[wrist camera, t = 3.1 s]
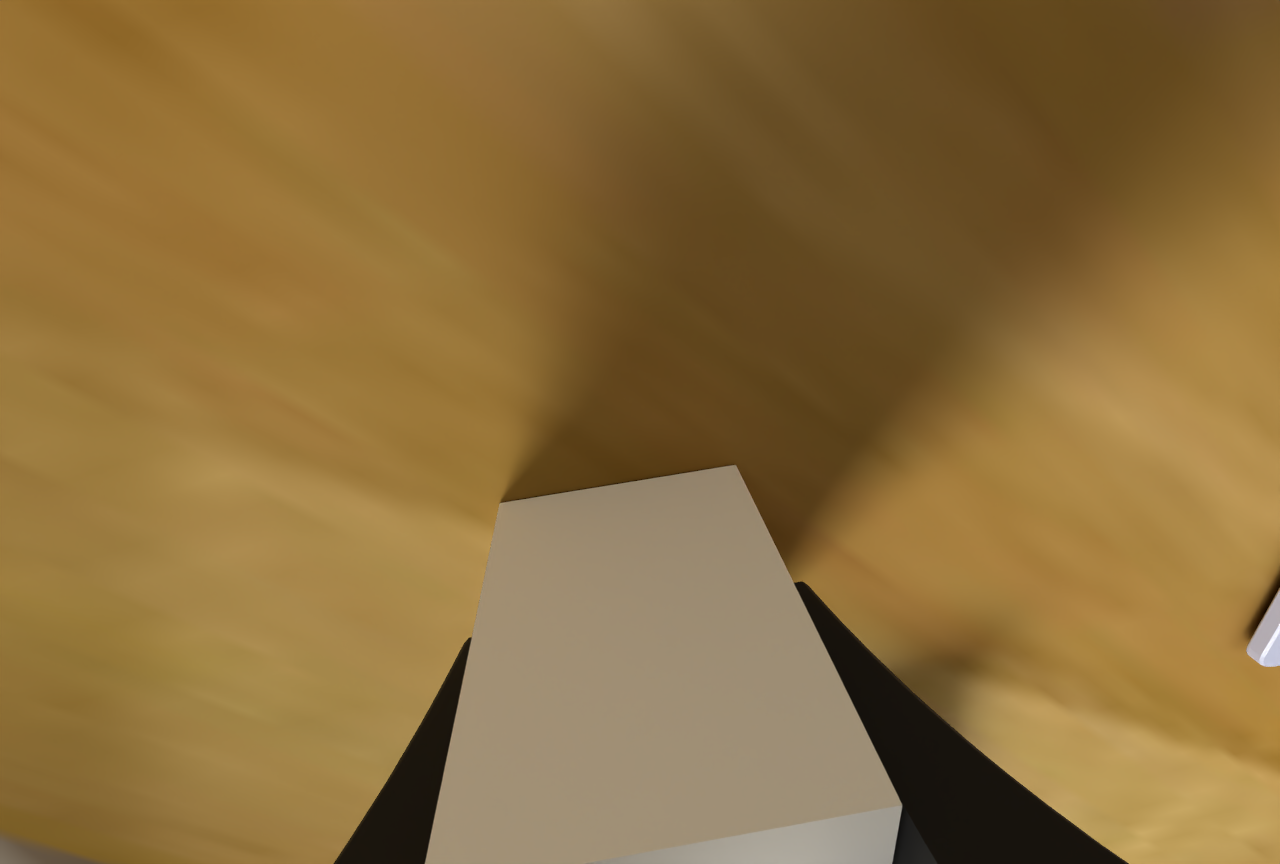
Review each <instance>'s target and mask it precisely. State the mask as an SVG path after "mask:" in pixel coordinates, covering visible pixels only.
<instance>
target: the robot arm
mask: <svg viewBox="0 0 1280 864" xmlns="http://www.w3.org/2000/svg"><path fill="white" fill-rule="evenodd" d="M794 585H795V587H796V589H797V591H798V593H799V595H800V597H801V599H802V601H803V603H804V605H805V607H806V609H807V611H808V613H809V615H810V617H811V619H812V621H813V623H814V625H815V627H816V630H817V632H818V634H819V636H820V638H821V640H822V642H823V644H824V646H825V648H826V650H827V652H828V654H829V656H830V658H831V660H832V662H833V664H834V666H835V668H836V670H837V672H838V674H839V677H840V679H841V681H842V683H843V685H844V687H845V689H846V691H847V693H848V695H849V697H850V699H851V701H852V703H853V705H854V707H855V709H856V711H857V713H858V715H859V717H860V719H861V721H862V723H863V726H864V728H865V730H866V732H867V734H868V736H869V738H870V740H871V742H872V744H873V746H874V748H875V750H876V752H877V754H878V756H879V758H880V760H881V762H882V764H883V766H884V768H885V770H886V773H887V775H888V777H889V779H890V781H891V783H892V785H893V787H894V789H895V791H896V793H897V795H898V797H899V799H900V801H901V803H902V811H901V816H900V822H899V828H898V833H897V839H896V845H895V850H894V856H893V862H892V864H1128V863H1127V862H1126V861H1124V860H1123V859H1121V858H1120V857H1118V856H1117V855H1115V854H1114V853H1112V852H1111V851H1110V850H1108V849H1107V848H1105V847H1104V846H1102V845H1101V844H1100V843H1098V842H1097V841H1095V840H1094V839H1093V838H1091V837H1090V836H1089V835H1087V834H1086V833H1085V832H1083V831H1082V830H1081V829H1079V828H1078V827H1077V826H1075V825H1074V824H1073V823H1071V822H1070V821H1069V820H1067V819H1066V818H1065V817H1063V816H1062V815H1061V814H1059V813H1058V812H1056V811H1055V810H1054V809H1052V808H1051V807H1050V806H1048V805H1047V804H1046V803H1044V802H1043V801H1042V800H1041V799H1039V798H1038V797H1037V796H1036V795H1034V794H1033V793H1032V792H1030V791H1029V790H1028V789H1027V788H1025V787H1024V786H1023V785H1021V784H1020V783H1019V782H1018V781H1016V780H1015V779H1014V778H1012V777H1011V776H1010V775H1009V774H1007V773H1006V772H1005V771H1004V770H1002V769H1001V768H1000V767H999V766H998V765H996V764H995V763H994V762H993V761H991V760H990V759H989V758H988V757H986V756H985V755H984V754H983V753H982V752H981V751H979V750H978V749H977V748H976V747H975V746H973V745H972V744H971V743H970V742H969V741H967V740H966V739H965V738H964V737H963V736H962V735H960V734H959V733H958V732H957V731H956V730H955V729H954V728H952V727H951V726H950V725H949V724H948V723H947V722H946V721H944V720H943V719H942V718H941V717H940V716H939V715H938V714H936V713H935V712H934V711H933V710H932V709H931V708H930V707H929V706H927V705H926V704H925V703H924V702H923V701H922V700H921V699H920V698H919V697H918V696H917V695H915V694H914V693H913V692H912V691H911V690H910V689H909V688H908V687H907V686H906V685H905V684H904V683H903V682H902V681H901V680H900V679H898V678H897V677H896V676H895V675H894V674H893V673H892V672H891V671H890V670H889V669H888V668H887V667H886V666H885V665H884V664H883V663H882V662H881V661H880V660H879V659H878V658H877V657H876V656H875V655H874V654H873V653H871V652H870V651H869V650H868V649H867V648H866V647H865V646H864V645H863V644H862V642H861V641H860V640H859V639H858V638H857V637H856V636H855V635H854V634H853V633H852V632H851V631H850V630H849V629H848V628H847V627H846V626H845V625H844V624H843V623H842V622H841V621H840V620H839V619H838V618H837V617H836V615H835V614H834V613H833V612H832V611H831V610H830V609H829V608H828V607H827V606H826V605H825V604H824V602H823V601H822V600H821V599H820V598H819V597H818V596H817V595H816V594H815V593H814V591H813V590H812V589H811V588H810V587H809V586H808V585H807V584H805V583H804V582H796V583H794ZM471 639H472V638H468V640H467V641H466V642H465V643H464V645H463V647H462V648H461V650H460V652H459V654H458V656H457V658H456V660H455V662H454V664H453V666H452V668H451V669H450V671H449V673H448V675H447V677H446V679H445V681H444V683H443V684H442V686H441V688H440V690H439V692H438V694H437V696H436V697H435V699H434V701H433V703H432V705H431V706H430V708H429V710H428V712H427V714H426V715H425V717H424V719H423V721H422V723H421V724H420V726H419V728H418V729H417V731H416V733H415V735H414V736H413V738H412V740H411V741H410V743H409V745H408V746H407V748H406V750H405V752H404V753H403V755H402V757H401V758H400V760H399V762H398V764H397V765H396V767H395V769H394V770H393V772H392V774H391V775H390V777H389V779H388V780H387V782H386V784H385V785H384V787H383V788H382V790H381V791H380V793H379V795H378V796H377V798H376V799H375V801H374V802H373V804H372V805H371V807H370V809H369V810H368V812H367V813H366V815H365V816H364V818H363V820H362V821H361V823H360V824H359V826H358V827H357V829H356V830H355V832H354V834H353V835H352V837H351V838H350V840H349V841H348V843H347V844H346V846H345V847H344V849H343V850H342V852H341V853H340V855H339V856H338V858H337V859H336V861H335V862H334V864H425V861H426V856H427V851H428V846H429V842H430V837H431V832H432V827H433V822H434V817H435V813H436V808H437V803H438V798H439V793H440V789H441V784H442V779H443V774H444V769H445V764H446V760H447V755H448V750H449V745H450V740H451V735H452V731H453V726H454V721H455V716H456V711H457V707H458V702H459V697H460V692H461V687H462V682H463V678H464V673H465V668H466V663H467V658H468V653H469V649H470V644H471ZM1246 651H1247V654H1248V655H1249V656H1250V657H1252V658H1253V659H1254V660H1255V661H1257V662H1258V663H1259V664H1261V665H1263V666H1267V667H1272V666H1280V588H1279V590H1278V592H1277V593H1276V595H1275V597H1274V599H1273V601H1272V602H1271V604H1270V606H1269V608H1268V609H1267V611H1266V613H1265V615H1264V617H1263V618H1262V620H1261V622H1260V624H1259V625H1258V627H1257V629H1256V631H1255V632H1254V634H1253V636H1252V638H1251V640H1250V641H1249V643H1248V645H1247V649H1246Z"/></svg>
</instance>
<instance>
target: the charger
mask: <svg viewBox="0 0 1280 864" xmlns="http://www.w3.org/2000/svg"><path fill="white" fill-rule="evenodd" d="M901 811H902V803H901V801H900V799H899V797H898V795H897V793H896V791H895V789H894V787H893V785H892V783H891V781H890V779H889V777H888V775H887V773H886V770H885V768H884V766H883V764H882V762H881V760H880V758H879V756H878V754H877V752H876V750H875V748H874V746H873V744H872V742H871V740H870V738H869V736H868V734H867V732H866V730H865V728H864V726H863V723H862V721H861V719H860V717H859V715H858V713H857V711H856V709H855V707H854V705H853V703H852V701H851V699H850V697H849V695H848V693H847V691H846V689H845V687H844V685H843V683H842V681H841V679H840V677H839V674H838V672H837V670H836V668H835V666H834V664H833V662H832V660H831V658H830V656H829V654H828V652H827V650H826V648H825V646H824V644H823V642H822V640H821V638H820V636H819V634H818V632H817V630H816V627H815V625H814V623H813V621H812V619H811V617H810V615H809V613H808V611H807V609H806V607H805V605H804V603H803V601H802V599H801V597H800V595H799V593H798V591H797V589H796V587H795V585H794V583H793V581H792V578H791V576H790V574H789V572H788V570H787V568H786V566H785V564H784V562H783V560H782V558H781V556H780V554H779V552H778V550H777V548H776V546H775V544H774V542H773V540H772V538H771V536H770V534H769V531H768V529H767V527H766V525H765V523H764V521H763V519H762V517H761V515H760V513H759V511H758V509H757V507H756V505H755V503H754V501H753V499H752V497H751V495H750V493H749V491H748V489H747V487H746V485H745V482H744V480H743V478H742V476H741V474H740V472H739V470H738V468H737V466H736V465H732V466H725V467H719V468H713V469H707V470H701V471H695V472H688V473H682V474H676V475H670V476H664V477H658V478H652V479H645V480H639V481H633V482H627V483H621V484H615V485H608V486H602V487H596V488H590V489H584V490H578V491H571V492H565V493H559V494H553V495H547V496H541V497H535V498H528V499H522V500H516V501H510V502H504V503H500V504H499V509H498V514H497V518H496V523H495V528H494V533H493V538H492V543H491V547H490V552H489V557H488V562H487V567H486V572H485V576H484V581H483V586H482V591H481V596H480V600H479V605H478V610H477V615H476V620H475V625H474V629H473V634H472V639H471V644H470V649H469V653H468V658H467V663H466V668H465V673H464V678H463V682H462V687H461V692H460V697H459V702H458V707H457V711H456V716H455V721H454V726H453V731H452V735H451V740H450V745H449V750H448V755H447V760H446V764H445V769H444V774H443V779H442V784H441V789H440V793H439V798H438V803H437V808H436V813H435V817H434V822H433V827H432V832H431V837H430V842H429V846H428V851H427V856H426V861H425V864H892V862H893V856H894V850H895V845H896V839H897V833H898V828H899V822H900V816H901Z"/></svg>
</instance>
